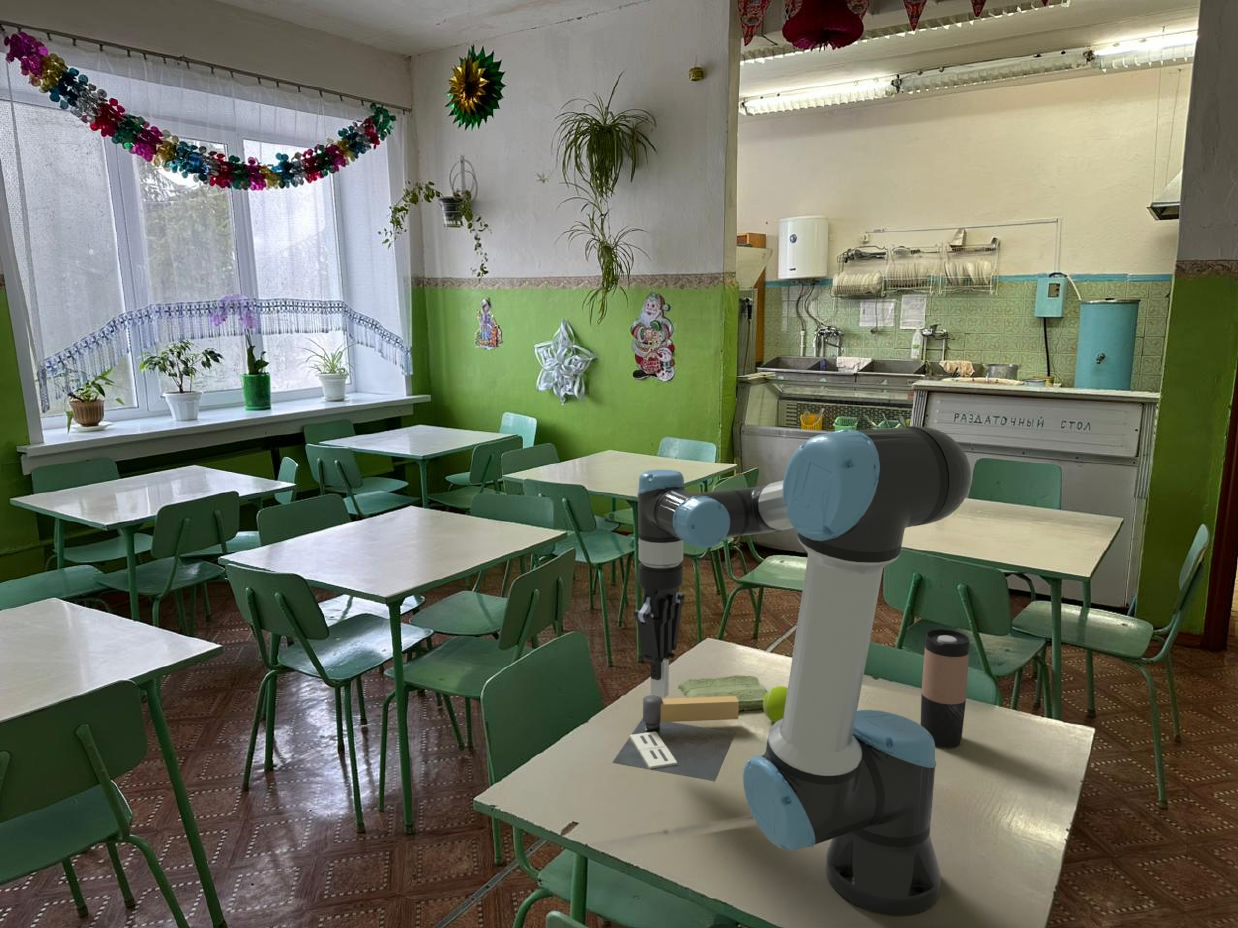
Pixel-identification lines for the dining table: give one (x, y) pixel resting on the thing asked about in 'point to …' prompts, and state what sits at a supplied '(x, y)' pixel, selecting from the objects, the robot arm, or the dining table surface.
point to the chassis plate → (683, 749)
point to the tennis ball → (775, 703)
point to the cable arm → (689, 709)
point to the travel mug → (944, 686)
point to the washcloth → (727, 689)
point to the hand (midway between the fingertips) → (659, 694)
